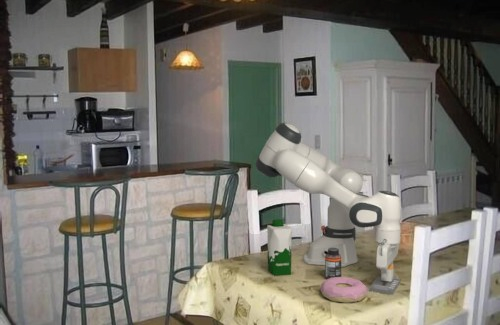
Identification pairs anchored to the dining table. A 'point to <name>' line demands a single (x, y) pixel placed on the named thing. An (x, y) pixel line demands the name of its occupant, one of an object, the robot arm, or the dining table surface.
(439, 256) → the dining table surface
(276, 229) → the milk carton
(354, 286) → the donut
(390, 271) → the fader knob
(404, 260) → the dining table surface
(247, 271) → the dining table surface
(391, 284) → the console
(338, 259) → the supplement bottle
